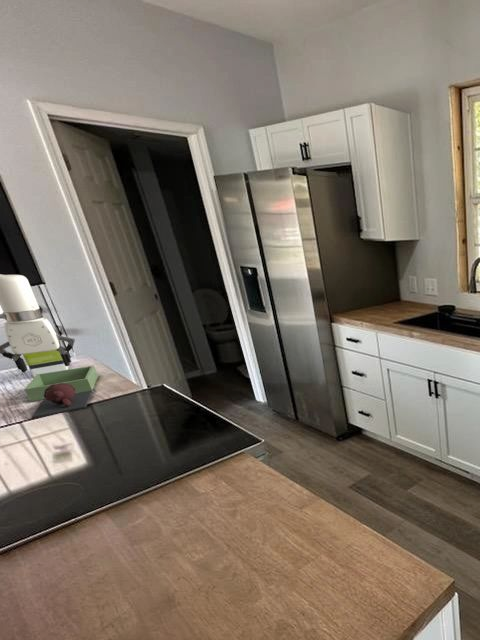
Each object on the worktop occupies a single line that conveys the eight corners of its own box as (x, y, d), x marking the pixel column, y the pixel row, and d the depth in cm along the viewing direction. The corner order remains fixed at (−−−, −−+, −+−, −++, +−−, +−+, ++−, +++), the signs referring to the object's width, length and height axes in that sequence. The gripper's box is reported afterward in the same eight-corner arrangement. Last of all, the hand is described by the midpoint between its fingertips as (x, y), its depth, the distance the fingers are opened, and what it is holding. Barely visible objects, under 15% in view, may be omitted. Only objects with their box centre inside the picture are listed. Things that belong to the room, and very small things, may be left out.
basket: (29, 401, 141) (24, 389, 139) (41, 385, 155) (36, 374, 153) (92, 390, 150) (87, 378, 148) (98, 376, 164) (93, 365, 162)
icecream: (35, 383, 137) (39, 398, 128) (63, 372, 141) (69, 386, 133) (51, 399, 141) (56, 415, 132) (78, 388, 145) (84, 403, 137)
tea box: (36, 369, 173) (20, 335, 167) (69, 363, 179) (55, 330, 174) (33, 378, 163) (16, 342, 157) (69, 372, 169) (53, 337, 164)
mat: (32, 418, 128) (31, 416, 128) (44, 400, 141) (43, 399, 141) (85, 407, 135) (84, 406, 135) (92, 391, 148) (91, 390, 148)
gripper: (-23, 322, 119) (3, 377, 126) (61, 314, 130) (82, 365, 136) (-15, 317, 125) (10, 370, 131) (65, 310, 135) (85, 360, 141)
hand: (46, 368), depth 133 cm, fingers open, 9 cm apart
